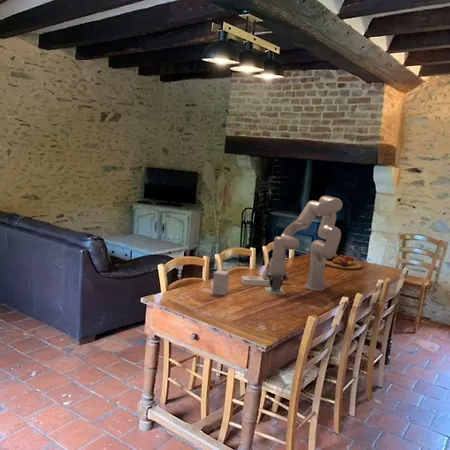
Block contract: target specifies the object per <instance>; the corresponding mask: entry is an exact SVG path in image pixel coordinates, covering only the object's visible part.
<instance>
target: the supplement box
mask: <svg viewBox="0 0 450 450" xmlns="http://www.w3.org/2000/svg"><path fill="white" fill-rule="evenodd" d="M229 279H230V271H226V270H219V269H218V270H216V271H214V273H213V281H212V294H214V295H220V296H225V295H226V294H227V293H228V292H229V290H228V289H229Z"/></svg>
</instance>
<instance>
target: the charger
mask: <svg viewBox="0 0 450 450" xmlns="http://www.w3.org/2000/svg"><path fill="white" fill-rule="evenodd" d="M281 278H282V277H281V276H280V275H274V276H273V278H272V280H273V283H272V286H271V285H270V286H269V287H271V288H272V290H280V288H282V285H281Z"/></svg>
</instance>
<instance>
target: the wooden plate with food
mask: <svg viewBox="0 0 450 450" xmlns="http://www.w3.org/2000/svg"><path fill="white" fill-rule="evenodd" d="M354 260H355V259H354V256H351V255H349V256H346V255H343V254H339V256H338V253H335V255H334V256H333V257H332V258H330V259H327V258H325V266H328V267H331V268H335V269H341V270H347V271H348V270H349V271H355V270H357V271H358V270H361V269H362V267H363V266H362V264H360V263H359V262H356V261H354Z"/></svg>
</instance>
